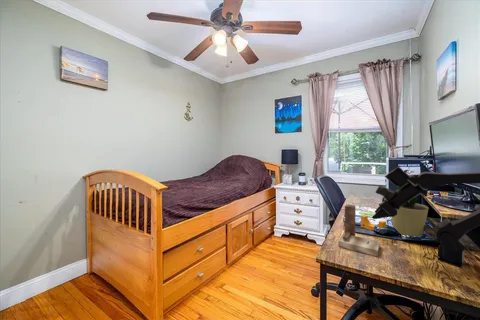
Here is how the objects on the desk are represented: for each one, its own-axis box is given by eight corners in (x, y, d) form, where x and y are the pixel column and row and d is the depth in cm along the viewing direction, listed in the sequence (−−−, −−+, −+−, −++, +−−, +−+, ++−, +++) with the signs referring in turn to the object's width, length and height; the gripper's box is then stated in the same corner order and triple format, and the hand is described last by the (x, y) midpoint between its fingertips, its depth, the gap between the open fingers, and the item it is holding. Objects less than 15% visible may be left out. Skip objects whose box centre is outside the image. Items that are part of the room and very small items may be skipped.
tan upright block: (355, 237, 103) (355, 205, 102) (350, 247, 93) (350, 212, 92) (346, 235, 105) (346, 204, 104) (340, 244, 96) (340, 210, 95)
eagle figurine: (443, 236, 99) (419, 229, 104) (449, 228, 95) (423, 221, 100) (443, 250, 94) (418, 242, 99) (449, 241, 90) (423, 233, 95)
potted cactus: (397, 239, 100) (399, 177, 98) (383, 227, 115) (384, 173, 113) (435, 241, 96) (437, 177, 95) (416, 229, 111) (417, 173, 110)
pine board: (379, 246, 93) (379, 241, 93) (377, 256, 85) (377, 250, 85) (343, 238, 103) (343, 233, 102) (338, 246, 95) (338, 240, 95)
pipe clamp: (388, 233, 107) (388, 221, 107) (382, 235, 106) (382, 222, 105) (366, 225, 118) (366, 214, 118) (360, 226, 117) (361, 215, 116)
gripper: (389, 177, 99) (363, 197, 106) (387, 183, 84) (356, 206, 92) (411, 195, 94) (381, 215, 102) (412, 205, 80) (377, 227, 87)
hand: (374, 215), depth 96 cm, fingers open, 9 cm apart
